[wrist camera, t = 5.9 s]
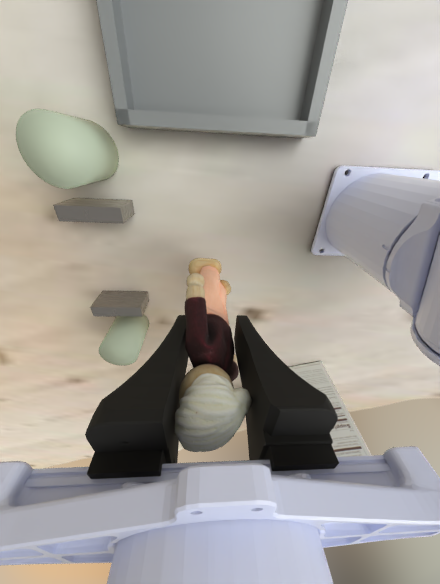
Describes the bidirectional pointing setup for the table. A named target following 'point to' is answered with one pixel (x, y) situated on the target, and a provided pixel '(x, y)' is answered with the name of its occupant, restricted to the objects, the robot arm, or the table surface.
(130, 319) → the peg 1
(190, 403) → the grandmother figurine
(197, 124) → the tray
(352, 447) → the supplement box
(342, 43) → the table surface
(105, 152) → the pale green rounded block
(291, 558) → the robot arm
